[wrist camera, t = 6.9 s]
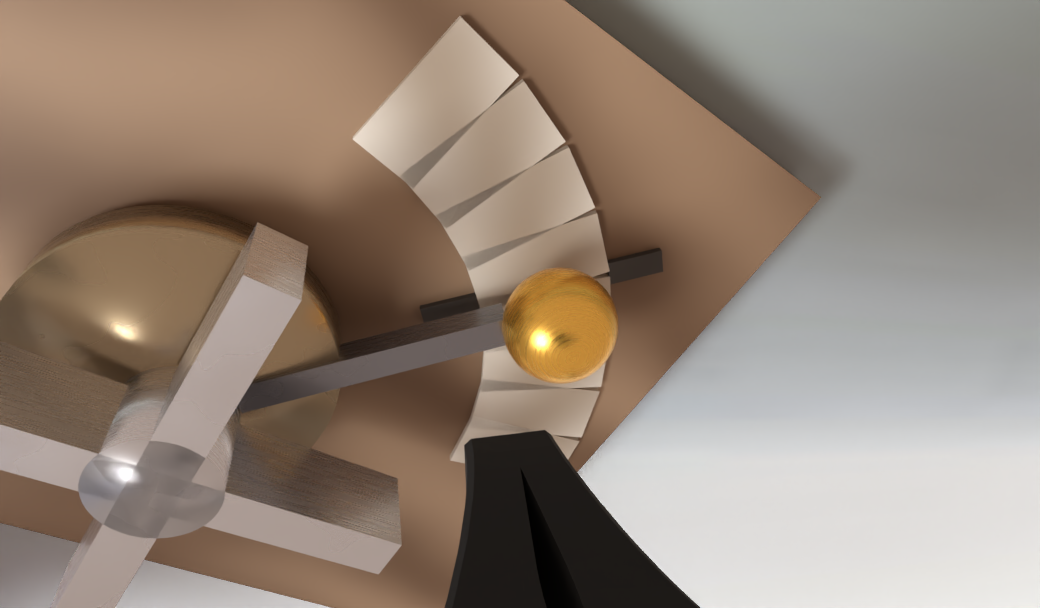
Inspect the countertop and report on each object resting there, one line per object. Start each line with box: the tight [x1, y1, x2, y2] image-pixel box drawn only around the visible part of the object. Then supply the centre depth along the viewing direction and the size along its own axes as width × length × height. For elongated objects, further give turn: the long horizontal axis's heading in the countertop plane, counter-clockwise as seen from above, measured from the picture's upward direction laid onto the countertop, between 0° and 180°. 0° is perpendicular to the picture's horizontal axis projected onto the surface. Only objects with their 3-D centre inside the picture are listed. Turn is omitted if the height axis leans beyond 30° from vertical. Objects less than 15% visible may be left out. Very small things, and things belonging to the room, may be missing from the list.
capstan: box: [0, 205, 618, 608], centre depth 18 cm, size 15×15×4 cm
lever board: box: [0, 0, 821, 608], centre depth 21 cm, size 21×21×2 cm
